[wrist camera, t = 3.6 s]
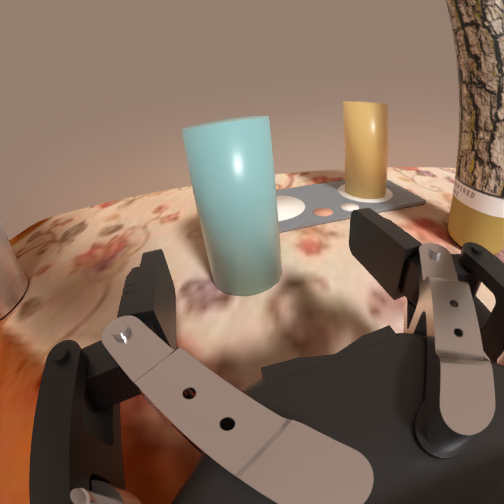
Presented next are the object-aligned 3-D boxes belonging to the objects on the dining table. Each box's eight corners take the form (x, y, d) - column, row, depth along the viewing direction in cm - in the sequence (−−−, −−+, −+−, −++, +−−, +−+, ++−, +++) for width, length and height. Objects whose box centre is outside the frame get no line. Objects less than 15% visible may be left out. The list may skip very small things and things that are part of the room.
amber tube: (359, 202, 29) (359, 102, 23) (337, 187, 33) (334, 101, 27) (394, 196, 29) (396, 105, 24) (370, 183, 34) (370, 101, 28)
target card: (224, 244, 25) (223, 239, 25) (213, 205, 33) (213, 202, 33) (425, 203, 28) (425, 200, 28) (379, 178, 36) (379, 175, 36)
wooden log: (470, 263, 18) (471, -32, 5) (434, 226, 23) (428, -16, 10) (512, 255, 17) (521, 1, 4) (476, 223, 23) (477, 6, 10)
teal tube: (217, 302, 18) (180, 133, 13) (209, 262, 23) (182, 126, 17) (291, 285, 19) (280, 118, 13) (270, 248, 23) (257, 114, 18)
